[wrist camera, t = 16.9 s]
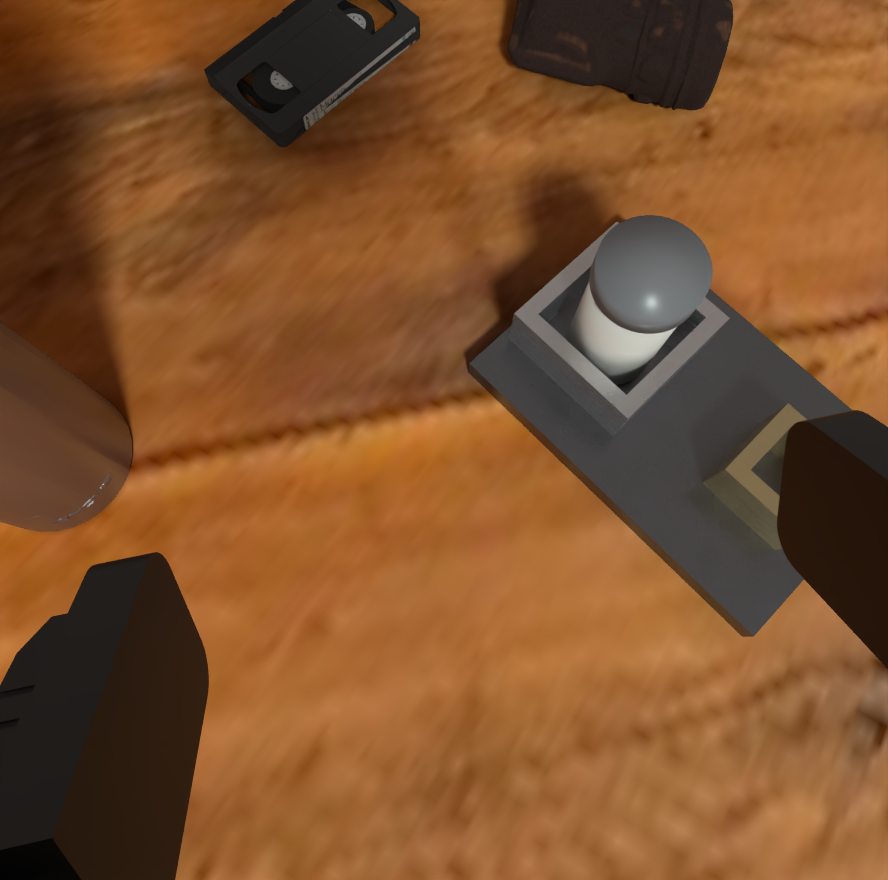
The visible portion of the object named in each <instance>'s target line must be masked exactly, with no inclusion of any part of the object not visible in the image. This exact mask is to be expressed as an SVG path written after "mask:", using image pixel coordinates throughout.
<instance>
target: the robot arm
mask: <svg viewBox="0 0 888 880" xmlns="http://www.w3.org/2000/svg"><path fill="white" fill-rule="evenodd" d="M131 460H132V438H131V435H130V431H129V427H128V425H127V423H126V421H125V419H124V417H123V416H122V414H121V413H120V412H119V411H118V410H117V408H116V407H115V406H114V405H113V404H112V403H110V402H109V401H108V400H106V399H105V398H104V397H102V396H101V395H100V394H98V393H97V392H96V391H94V390H93V389H92V388H90V387H89V386H88V385H86V384H85V383H84V382H82V381H81V380H80V379H78V378H77V377H76V376H74V375H73V374H72V373H70V372H69V371H68V370H66V369H65V368H64V367H62V366H61V365H59V364H58V363H57V362H55V361H54V360H53V359H51V358H50V357H49V356H47V355H46V354H45V353H43V352H42V351H40V350H39V349H38V348H36V347H35V346H34V345H32V344H31V343H30V342H28V341H27V340H25V339H24V338H23V337H21V336H20V335H19V334H17V333H16V332H15V331H13V330H12V329H11V328H9V327H8V326H6V325H5V324H4V323H2V322H1V321H0V522H2V523H6V524H10V525H13V526H17V527H21V528H24V529H29V530H35V531H40V532H44V531H59V530H64V529H68V528H72V527H75V526H77V525H79V524H81V523H84V522H86V521H88V520H90V519H91V518H93V517H94V516H95V515H97V514H98V513H100V512H101V511H103V510H104V508H105V507H106V506H107V505H108V504H109V503H110V502H111V501H112V500H113V499H114V498H115V497H116V495H117V494H118V492H119V491H120V489H121V488H122V486H123V485H124V482H125V480H126V477H127V475H128V473H129V470H130V465H131ZM777 530H778V536H779V540H780V543H781V546H782V549H783V551H784V553H785V555H786V557H787V559H788V561H789V562H790V564H791V565H792V566H793V567H794V569H795V570H796V571H797V572H798V573H799V574H800V575H801V576H802V577H803V578H804V579H805V580H806V582H807V583H808V584H809V585H810V586H811V587H812V588H813V589H814V590H815V591H816V592H817V593H818V594H819V595H820V597H821V598H822V599H823V600H824V601H825V602H826V603H827V604H828V605H829V606H830V607H831V608H832V609H833V611H834V612H835V613H836V614H837V615H838V616H839V617H840V618H841V619H842V620H843V621H844V622H845V623H846V624H847V626H848V627H849V628H850V629H851V630H852V631H853V632H854V633H855V634H856V635H857V636H858V637H859V638H860V639H861V641H862V642H863V643H864V644H865V645H866V646H867V647H868V648H869V649H870V650H871V651H872V652H873V653H874V654H875V656H876V657H877V658H878V659H879V660H880V661H881V662H882V663H883V664H884V665H885V666H886V667H887V668H888V427H887V426H885V425H884V424H882V423H881V422H879V421H877V420H876V419H874V418H873V417H871V416H870V415H868V414H866V413H864V412H862V411H856V410H853V411H848V412H844V413H839V414H834V415H829V416H824V417H819V418H814V419H810V420H805V421H800V422H797V423H795V424H794V425H793V426H792V427H791V428H790V430H789V432H788V435H787V439H786V445H785V454H784V463H783V471H782V480H781V489H780V498H779V506H778V515H777ZM208 687H209V675H208V664H207V658H206V654H205V649H204V646H203V643H202V640H201V638H200V636H199V633H198V631H197V629H196V626H195V624H194V622H193V619H192V617H191V615H190V612H189V610H188V608H187V605H186V603H185V601H184V598H183V596H182V594H181V591H180V589H179V587H178V584H177V582H176V580H175V577H174V575H173V573H172V570H171V568H170V566H169V564H168V562H167V560H166V559H165V558H164V556H163V555H161V554H160V553H158V552H155V553H150V554H145V555H140V556H135V557H130V558H125V559H121V560H116V561H111V562H106V563H101V564H96V565H93V566H91V567H90V568H89V570H88V571H87V573H86V575H85V577H84V579H83V581H82V583H81V586H80V588H79V590H78V592H77V594H76V596H75V599H74V601H73V603H72V605H71V607H70V610H69V612H68V613H67V614H63V615H58V616H53V617H51V618H50V619H49V620H48V621H47V622H46V623H45V624H44V625H43V626H42V627H41V629H40V630H39V631H38V632H37V633H36V634H35V635H34V636H33V637H32V638H31V639H30V640H29V641H28V642H27V643H26V644H25V645H24V646H23V647H22V648H21V649H20V651H19V652H18V653H17V654H16V656H15V658H14V660H13V662H12V664H11V666H10V668H9V669H8V671H7V673H6V675H5V677H4V679H3V681H2V683H1V685H0V880H175V877H176V871H177V866H178V860H179V854H180V849H181V843H182V837H183V832H184V826H185V820H186V815H187V809H188V804H189V798H190V792H191V787H192V781H193V775H194V770H195V764H196V758H197V753H198V747H199V741H200V736H201V730H202V725H203V719H204V713H205V708H206V702H207V696H208Z"/></svg>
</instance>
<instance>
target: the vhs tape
mask: <svg viewBox="0 0 888 880" xmlns="http://www.w3.org/2000/svg"><path fill="white" fill-rule="evenodd" d="M378 1H379V2H380V3H382V4H383V5H384V6H385V7H387V8H388V9H389V10H390V11H392V12H393V13H394V14H395V15H397V16H396V17H395V18H393V19H392V20H391V21H390V22H388V23H387V24H386V25H385V26H384V27H382V28H381V29H380V30H379V31H377V32H376V33H375V29H374V21H373V19H372V16H371V15H370V14H369V13H368V12H366V11H364V10H362V9H360V8H358V7H357V6H355V5H353V4H351V3H350V2H348V1H346V0H295V1H294V2H293V3H291V4H290V5H289V6H287V7H286V8H285V9H283V10H282V11H283V12H282V13H280V14H279V15H278V16H277V17H273V18H272V19H270V20H269V21H268V22H266V23H265V24H264V25H262V26H261V27H260V28H258V29H257V30H256V31H254V32H253V33H252V34H251V35H249V36H248V37H247V38H245V39H244V40H243V41H241V42H240V43H239V44H237V45H236V46H235V47H233V48H232V49H231V50H229V51H228V52H227V53H226V54H224V55H223V56H222V57H220V58H219V59H218V60H216V61H215V62H214V63H212V64H211V65H210V66H208V67H207V68H206V69H204V71H205V73H206V76H207V78H208V81H209V83H210V85H211V87H213V88H214V89H215V90H216V91H217V92H218V93H219V94H221V93H222V94H221V95H222V96H223V97H224V98H225V99H226V100H227V101H229V102H230V103H231V104H232V105H233V106H234V107H235V108H237V109H238V110H239V111H240V112H241V113H242V114H243V115H245V116H246V117H247V118H248V119H249V120H250V121H251V122H252V123H254V124H255V125H256V126H257V127H258V128H259V129H260V130H262V131H263V132H264V133H265V134H266V135H267V136H268V137H270V138H271V139H272V140H273V141H274V142H275V143H276V144H278V145H279V146H280V147H286V146H288V145H289V144H290V143H292V142H293V141H294V140H295V139H297V138H298V137H299V136H300V135H301V134H303V133H304V131H306V130H307V129H308V128H310V127H311V126H312V125H313V124H314V123H316V122H317V121H318V120H319V119H321V118H322V117H323V116H324V115H326V114H327V113H328V112H329V111H330V110H332V109H333V108H334V107H335V106H337V105H338V104H339V103H340V102H342V101H343V100H344V99H345V98H346V97H348V96H349V95H350V94H351V93H353V92H354V91H355V90H356V89H357V88H359V87H360V86H361V85H362V84H364V83H365V82H366V81H367V80H369V79H370V78H371V77H372V76H373V75H375V74H376V73H377V72H378V71H380V70H381V69H382V68H383V67H385V66H386V65H387V64H388V63H389V62H391V61H392V60H393V59H394V58H396V57H397V56H398V55H399V54H401V53H402V52H403V51H404V50H405V49H407V48H408V47H409V46H410V45H412V44H413V43H414V42H415V41H417V40H418V39H419V38H420V20H419V17H418V16H417V15H416V14H414V13H413V12H412V11H410V10H409V9H408V8H407V7H405V6H404V5H403V4H402V3H400V2H399V1H398V0H378ZM337 6H338V8H337ZM340 9H341V10H342V11H341V10H340ZM252 70H254V72H253V74H252V86H253V89H254V91H253V90H252V89H250V88H249V87H248V86H247V85H246V84H245V83H244V82H242V81H241V79H242V78H243V77H245V76H246V75H247V74H249V73H250V72H251V71H252ZM237 86H238V87H239V88H241V89H242V90H243V91H244V92H245V93H246V94H248V95H249V96H250V97H251V98H252V99H253V100H254V101H256V102H257V103H258V104H259V105H260V106H261V107H262V108H263V109H265V110H266V111H268V112H270V113H267V112H265V111H262V110H259V109H257V108H256V107H254V106H252V105H251V104H250V103H249V102H247V101H246V100H245V99H244V97H243V96H242V95H241V93H240V91H239V89H238V87H237ZM297 135H298V136H297Z"/></svg>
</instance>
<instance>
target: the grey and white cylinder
mask: <svg viewBox="0 0 888 880" xmlns="http://www.w3.org/2000/svg"><path fill="white" fill-rule="evenodd" d="M711 281H712V263H711V259H710V256H709V253H708V251H707V249H706V247H705V245H704V244H703V242H702V241H701V239H700V238H699V237H698V236H697V235H696V234H695V233H694V232H693V231H692V230H690V229H689V228H688V227H686V226H685V225H683V224H681V223H679V222H677V221H675V220H672V219H670V218H666V217H662V216H654V215H645V216H638V217H633V218H630V219H627V220H625V221H623V222H621V223H619V224H618V225H616V226H615V227H613V228H612V229H611V230H610V231H609V232H608V233H607V234H606V236H605V237H604V238H603V240H602V241H601V243H600V245H599V248H598V250H597V253H596V255H595V258H594V260H593V263H592V265H591V269H590V275H589V282H588V285H587V287H586V289H585V292H584V294H583V297H582V299H581V301H580V304H579V306H578V308H577V311H576V313H575V316H574V318H573V320H572V323H571V325H570V328H569V330H568V333H567V337H566V340H567V341H568V342H569V343H570V344H571V345H572V346H574V347H575V348H576V349H577V350H578V351H579V352H580V353H581V354H582V355H583V356H584V357H586V358H587V359H588V360H589V361H590V362H591V363H592V364H593V365H594V366H595V367H596V368H598V369H599V370H600V371H601V372H602V373H603V374H604V375H605V376H606V377H607V378H608V379H610V380H611V381H612V382H613V383H614V384H615V385H618V384H623V383H626V382H628V381H631V380H632V379H634V378H636V377H637V376H638V375H639V374H640V373H641V372H642V371H643V370H644V369H645V367H646V366H647V365H648V364H649V362H650V361H651V360H652V358H653V357H654V356H655V355H656V353H657V352H658V351H659V349H660V348H661V347H662V345H663V344H664V343H665V342H666V340H667V339H668V338H669V336H670V335H671V334H672V333H673V331H674V330H675V329H676V327H677V326H679V325H681V324H682V323H683V322H685V321H686V320H687V319H688V318H689V317H690V316H691V314H692V313H693V312H694V311H695V309H696V308H697V307H698V306H699V304H700V303H701V302H702V300H703V299H704V298H705V296H706V294H707V293H708V291H709V288H710V285H711Z"/></svg>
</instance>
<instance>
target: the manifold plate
mask: <svg viewBox="0 0 888 880" xmlns="http://www.w3.org/2000/svg"><path fill="white" fill-rule="evenodd" d="M618 224H619V223H618V222H616V223H614V224H613V225H612V226H611V227H610V228H609V229H608V230H607V231H606V232H604V233H603V234H602V235H601V236H600V237H599V238H598V239H597V240H595V241H594V242H593V243H592V244H591V245H590V246H589V247H588V248H587V249H585V250H584V251H583V252H582V253H581V254H580V255H579V256H578V257H577V258H575V259H574V260H573V261H572V262H571V263H570V264H569V265H568V266H567V267H565V268H564V269H563V270H562V271H561V272H560V273H559V274H558V275H557V276H555V277H554V278H553V279H552V280H551V281H550V282H549V283H548V284H547V285H545V286H544V287H543V288H542V289H541V290H540V291H539V292H538V293H536V294H535V295H534V296H533V297H532V298H531V299H530V300H529V301H528V302H526V303H525V304H524V305H523V306H522V307H521V308H520V309H519V310H518V311H516V312H515V313H514V316H513V321H512V325H511V326H510V327H509V328H508V329H507V330H506V331H504V332H503V333H502V334H501V335H500V336H499V337H498V338H497V339H496V340H495V341H493V342H492V343H491V344H490V345H489V346H488V347H487V348H486V349H485V350H483V351H482V352H481V353H480V354H479V355H478V356H477V357H476V358H475V359H473V360H472V361H471V362H470V363H469V370H468V372H469V373H470V374H471V375H472V376H473V377H474V378H475V379H476V380H477V381H478V382H479V383H480V384H481V385H482V386H483V387H484V388H485V389H486V390H487V391H488V392H489V393H491V394H492V395H493V396H494V397H495V398H496V399H497V400H498V401H499V402H500V403H501V404H502V405H503V406H504V407H505V408H506V409H507V410H508V411H509V412H510V413H511V414H512V415H513V416H514V417H515V418H516V419H517V420H519V421H520V422H521V423H522V424H523V425H524V426H525V427H526V428H527V429H528V430H529V431H530V432H531V433H532V434H533V435H534V436H535V437H536V438H537V439H538V440H539V441H540V442H541V443H542V444H543V445H544V446H545V447H547V448H548V449H549V450H550V451H551V452H552V453H553V454H554V455H555V456H556V457H557V458H558V459H559V460H560V461H561V462H562V463H563V464H564V465H565V466H566V467H567V468H568V469H569V470H570V471H571V472H572V473H573V474H575V475H576V476H577V477H578V478H579V479H580V480H581V481H582V482H583V483H584V484H585V485H586V486H587V487H588V488H589V489H590V490H591V491H592V492H593V493H594V494H595V495H596V496H597V497H598V498H599V499H600V500H601V501H603V502H604V503H605V504H606V505H607V506H608V507H609V508H610V509H611V510H612V511H613V512H614V513H615V514H616V515H617V516H618V517H619V518H620V519H621V520H622V521H623V522H624V523H625V524H626V525H627V526H628V527H629V528H631V529H632V530H633V531H634V532H635V533H636V534H637V535H638V536H639V537H640V538H641V539H642V540H643V541H644V542H645V543H646V544H647V545H648V546H649V547H650V548H651V549H652V550H653V551H654V552H655V553H656V554H657V555H659V556H660V557H661V558H662V559H663V560H664V561H665V562H666V563H667V564H668V565H669V566H670V567H671V568H672V569H673V570H674V571H675V572H676V573H677V574H678V575H679V576H680V577H681V578H682V579H683V580H684V581H685V582H687V583H688V584H689V585H690V586H691V587H692V588H693V589H694V590H695V591H696V592H697V593H698V594H699V595H700V596H701V597H702V598H703V599H704V600H705V601H706V602H707V603H708V604H709V605H710V606H711V607H712V608H713V609H714V610H716V611H717V612H718V613H719V614H720V615H721V616H722V617H723V618H724V619H725V620H726V621H727V622H728V623H729V624H730V625H731V626H732V627H733V628H734V629H735V630H736V631H737V632H738V633H739V634H740V635H741V636H742V637H748V636H754V635H755V634H756V633H757V632H758V631H759V630H760V629H761V627H762V626H763V625H764V624H765V623H766V622H767V621H768V620H769V618H770V617H771V616H772V615H773V614H774V613H775V612H776V610H777V609H778V608H779V607H780V606H781V605H782V604H783V602H784V601H785V600H786V599H787V598H788V597H789V596H790V594H791V593H792V592H793V591H794V590H795V589H796V588H797V587H798V585H799V584H800V583H801V582H802V581H803V580H804V578H803V577H802V576H801V575H800V574H799V573H798V572H797V571H796V570H795V569H794V567H793V566H792V565H791V564H790V562H789V561H788V559H787V557H786V555H785V553H784V551H783V549H782V546H781V543H780V540H779V536H778V530H777V515H778V506H779V498H780V489H781V480H782V471H783V463H784V454H785V445H786V439H787V435H788V432H789V430H790V428H791V427H792V426H793V425H794V424H795V423H797V422H800V421H805V420H810V419H814V418H819V417H824V416H829V415H834V414H839V413H844V412H848V411H853V410H851V409H850V408H849V407H848V406H847V405H846V404H844V403H843V402H842V401H841V400H840V399H839V398H837V397H836V396H835V395H834V394H833V393H831V392H830V391H829V390H828V389H827V388H826V387H824V386H823V385H822V384H821V383H820V382H819V381H817V380H816V379H815V378H814V377H813V376H811V375H810V374H809V373H808V372H807V371H806V370H804V369H803V368H802V367H801V366H800V365H799V364H797V363H796V362H795V361H794V360H793V359H792V358H790V357H789V356H788V355H787V354H786V353H784V352H783V351H782V350H781V349H780V348H779V347H777V346H776V345H775V344H774V343H773V342H772V341H770V340H769V339H768V338H767V337H766V336H765V335H763V334H762V333H761V332H760V331H759V330H757V329H756V328H755V327H754V326H753V325H752V324H750V323H749V322H748V321H747V320H746V319H745V318H743V317H742V316H741V315H740V314H739V313H737V312H736V311H735V310H734V309H733V308H732V307H730V306H729V305H728V304H727V303H726V302H725V301H723V300H722V299H721V298H720V297H719V296H718V295H716V294H715V293H714V292H713V291H712V290H710V289H709V291H708V293H707V294H706V296H705V298H704V299H703V300H702V302H701V303H700V304H699V306H698V307H697V308H696V309H695V311H694V312H693V313H692V314H691V316H690V317H689V318H688V319H687V320H686V321H685V322H683V323H682V324H681V325H679V326H677V327H676V329H675V330H674V331H673V333H672V334H671V335H670V336H669V338H668V339H667V340H666V342H665V343H664V344H663V345H662V347H661V348H660V349H659V351H658V352H657V353H656V355H655V356H654V357H653V358H652V360H651V361H650V362H649V364H648V365H647V366H646V367H645V369H644V370H643V371H642V372H641V373H640V374H639V375H638V376H637V377H636V378H634V379H632V380H631V381H628V382H626V383H623V384H618V385H615V384H614V383H613V382H612V381H611V380H610V379H608V378H607V377H606V376H605V375H604V374H603V373H602V372H601V371H600V370H599V369H598V368H596V367H595V366H594V365H593V364H592V363H591V362H590V361H589V360H588V359H587V358H586V357H584V356H583V355H582V354H581V353H580V352H579V351H578V350H577V349H576V348H575V347H574V346H572V345H571V344H570V343H569V342H568V341H567V340H566V337H567V333H568V330H569V328H570V325H571V323H572V320H573V318H574V316H575V313H576V311H577V308H578V306H579V304H580V301H581V299H582V297H583V294H584V292H585V289H586V287H587V285H588V282H589V275H590V269H591V265H592V263H593V260H594V258H595V255H596V253H597V250H598V248H599V245H600V243H601V241H602V240H603V238H604V237H605V236H606V234H607V233H608V232H609V231H610V230H611V229H612V228H613V227H615V226H616V225H618Z"/></svg>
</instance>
